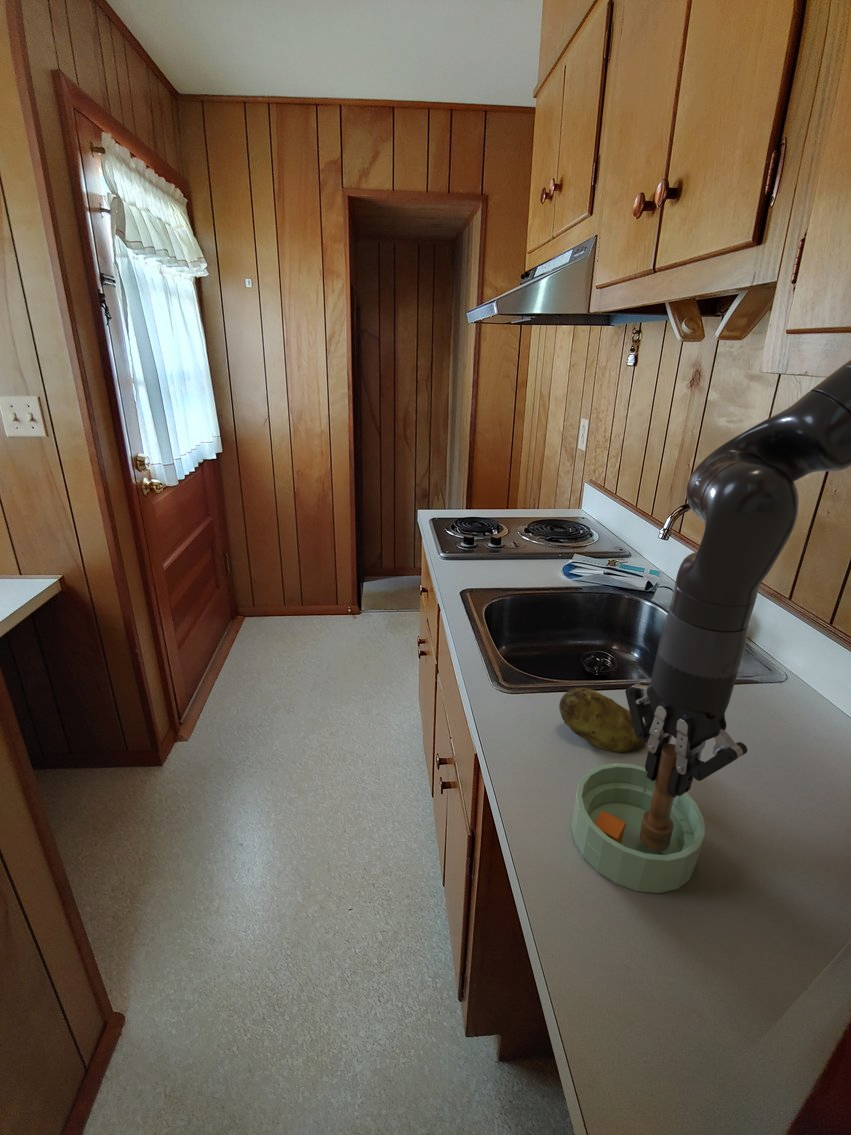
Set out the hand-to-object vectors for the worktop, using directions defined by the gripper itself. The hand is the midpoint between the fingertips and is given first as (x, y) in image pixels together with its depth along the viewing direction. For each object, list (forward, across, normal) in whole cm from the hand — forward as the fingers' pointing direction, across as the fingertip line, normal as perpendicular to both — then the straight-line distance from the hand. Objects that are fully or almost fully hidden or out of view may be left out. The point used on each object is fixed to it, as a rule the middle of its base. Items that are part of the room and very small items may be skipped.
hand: (664, 784), depth 62 cm
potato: (+11, +17, -10) cm, 23 cm away
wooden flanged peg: (+9, 0, -1) cm, 9 cm away
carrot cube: (+10, +3, +4) cm, 11 cm away
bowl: (+11, +2, 0) cm, 11 cm away
